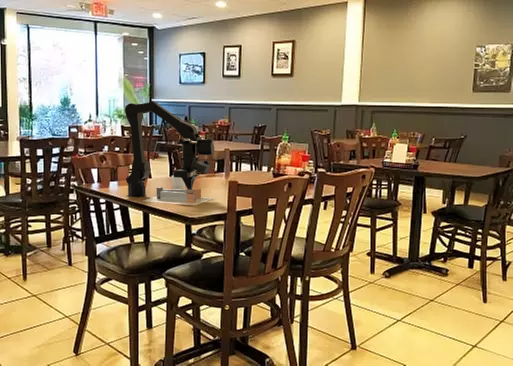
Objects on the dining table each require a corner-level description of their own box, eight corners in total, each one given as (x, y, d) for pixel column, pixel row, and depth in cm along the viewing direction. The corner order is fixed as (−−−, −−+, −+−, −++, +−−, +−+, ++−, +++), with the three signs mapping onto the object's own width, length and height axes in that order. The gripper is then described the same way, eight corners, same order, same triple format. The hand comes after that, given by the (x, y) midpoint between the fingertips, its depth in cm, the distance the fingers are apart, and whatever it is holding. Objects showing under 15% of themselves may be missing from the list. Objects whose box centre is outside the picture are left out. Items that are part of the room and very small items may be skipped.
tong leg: (156, 198, 214) (156, 188, 213) (156, 197, 216) (156, 187, 216) (200, 198, 217) (201, 187, 216) (200, 197, 219) (200, 187, 219)
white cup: (175, 191, 237) (175, 176, 236) (169, 190, 243) (168, 175, 242) (189, 190, 241) (189, 175, 240) (182, 188, 247) (182, 174, 246)
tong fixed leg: (160, 200, 211) (160, 191, 211) (162, 199, 213) (162, 190, 213) (193, 202, 207) (193, 193, 206) (195, 201, 209) (195, 193, 208)
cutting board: (141, 202, 209) (141, 200, 209) (163, 195, 226) (163, 194, 226) (195, 206, 201) (195, 205, 201) (213, 199, 218) (213, 198, 218)
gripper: (197, 157, 205) (198, 196, 207) (215, 153, 223) (216, 189, 225) (172, 156, 208) (173, 195, 211) (191, 152, 226) (192, 187, 228)
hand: (190, 191), depth 219 cm, fingers closed
